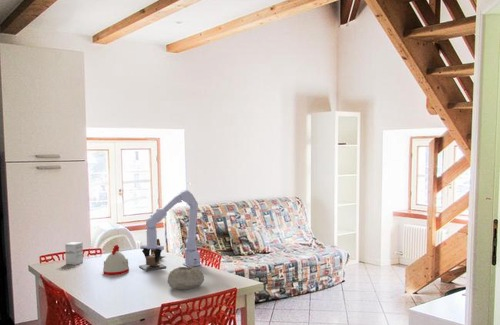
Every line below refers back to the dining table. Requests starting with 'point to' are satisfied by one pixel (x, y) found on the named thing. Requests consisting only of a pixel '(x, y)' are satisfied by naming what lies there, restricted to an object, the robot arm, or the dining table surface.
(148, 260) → the taped cardboard box
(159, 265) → the hub plate
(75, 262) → the supplement box
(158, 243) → the condiment
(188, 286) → the grey stone
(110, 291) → the dining table surface
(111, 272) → the kitchen timer
